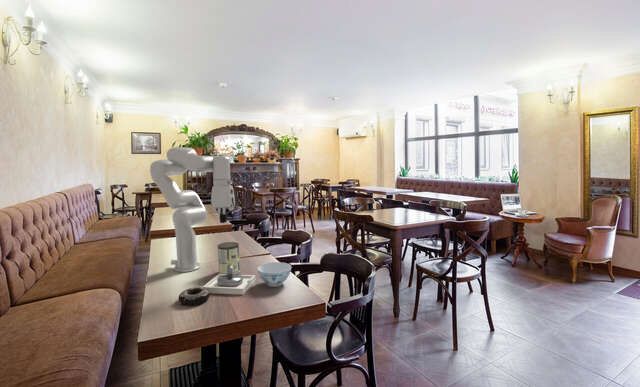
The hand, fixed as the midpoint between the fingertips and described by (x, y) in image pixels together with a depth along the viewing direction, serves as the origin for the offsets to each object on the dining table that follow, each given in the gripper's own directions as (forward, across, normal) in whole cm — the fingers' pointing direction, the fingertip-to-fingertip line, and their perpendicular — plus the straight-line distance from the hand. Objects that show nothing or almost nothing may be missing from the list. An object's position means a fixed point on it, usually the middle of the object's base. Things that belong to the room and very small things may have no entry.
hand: (223, 222), depth 152 cm
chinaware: (+27, -25, 0) cm, 37 cm away
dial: (+25, -7, +8) cm, 27 cm away
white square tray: (+27, -7, +8) cm, 29 cm away
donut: (+28, -1, +25) cm, 37 cm away
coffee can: (+27, +3, -9) cm, 29 cm away
